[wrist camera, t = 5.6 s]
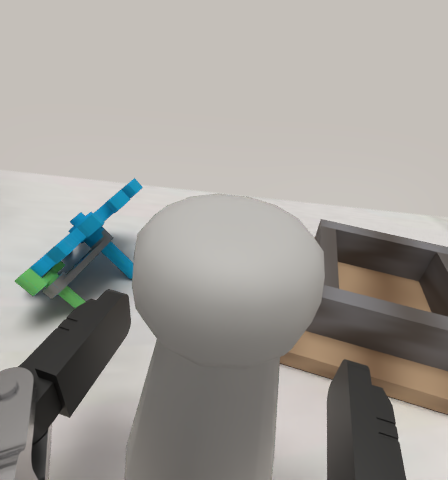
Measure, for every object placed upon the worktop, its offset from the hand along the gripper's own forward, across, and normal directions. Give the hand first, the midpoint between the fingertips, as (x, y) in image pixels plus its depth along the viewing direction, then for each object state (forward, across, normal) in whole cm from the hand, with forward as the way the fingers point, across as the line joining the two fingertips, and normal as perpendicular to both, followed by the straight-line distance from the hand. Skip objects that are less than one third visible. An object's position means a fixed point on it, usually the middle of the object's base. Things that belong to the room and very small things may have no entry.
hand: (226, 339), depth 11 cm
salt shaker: (-2, 0, +7) cm, 7 cm away
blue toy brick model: (+8, +12, +7) cm, 16 cm away
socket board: (+12, -9, +7) cm, 17 cm away
